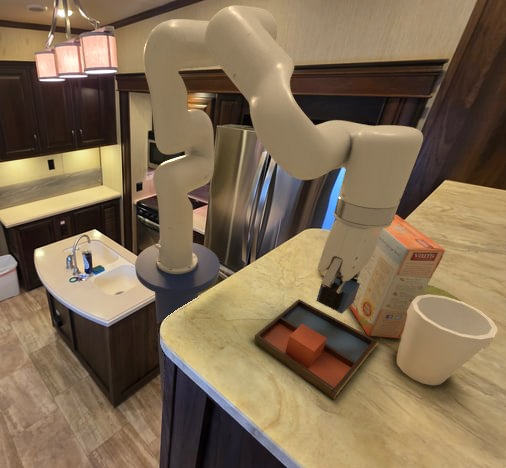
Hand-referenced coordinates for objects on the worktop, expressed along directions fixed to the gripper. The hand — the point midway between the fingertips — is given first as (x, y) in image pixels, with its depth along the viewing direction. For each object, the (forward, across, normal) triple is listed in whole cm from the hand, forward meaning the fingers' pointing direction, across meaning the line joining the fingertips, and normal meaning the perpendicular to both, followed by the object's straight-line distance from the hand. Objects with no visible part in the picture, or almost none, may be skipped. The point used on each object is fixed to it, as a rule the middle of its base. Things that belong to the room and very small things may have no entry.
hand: (335, 298), depth 54 cm
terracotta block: (+9, +8, 0) cm, 12 cm away
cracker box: (+10, -13, +3) cm, 17 cm away
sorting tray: (+10, +4, 0) cm, 11 cm away
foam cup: (+10, -5, +14) cm, 18 cm away
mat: (+10, -25, +10) cm, 29 cm away
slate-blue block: (+1, 0, 0) cm, 1 cm away
